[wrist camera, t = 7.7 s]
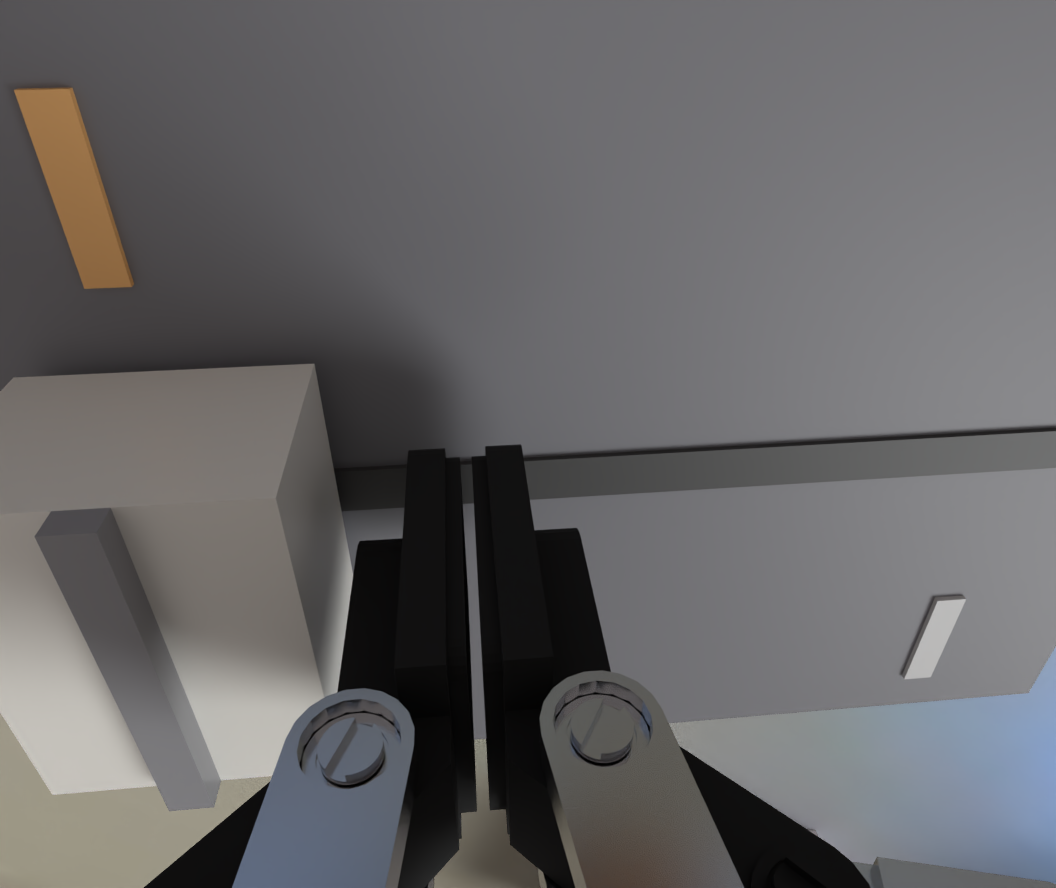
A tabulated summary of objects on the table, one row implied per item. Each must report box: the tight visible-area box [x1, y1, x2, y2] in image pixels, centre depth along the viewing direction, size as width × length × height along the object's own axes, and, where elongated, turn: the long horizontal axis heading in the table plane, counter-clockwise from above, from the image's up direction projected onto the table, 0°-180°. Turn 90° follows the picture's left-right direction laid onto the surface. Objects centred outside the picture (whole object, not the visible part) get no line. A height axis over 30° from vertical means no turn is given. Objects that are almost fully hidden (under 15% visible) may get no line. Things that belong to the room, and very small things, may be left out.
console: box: [0, 0, 1056, 739], centre depth 13 cm, size 14×20×2 cm
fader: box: [0, 364, 353, 811], centre depth 10 cm, size 5×4×3 cm
